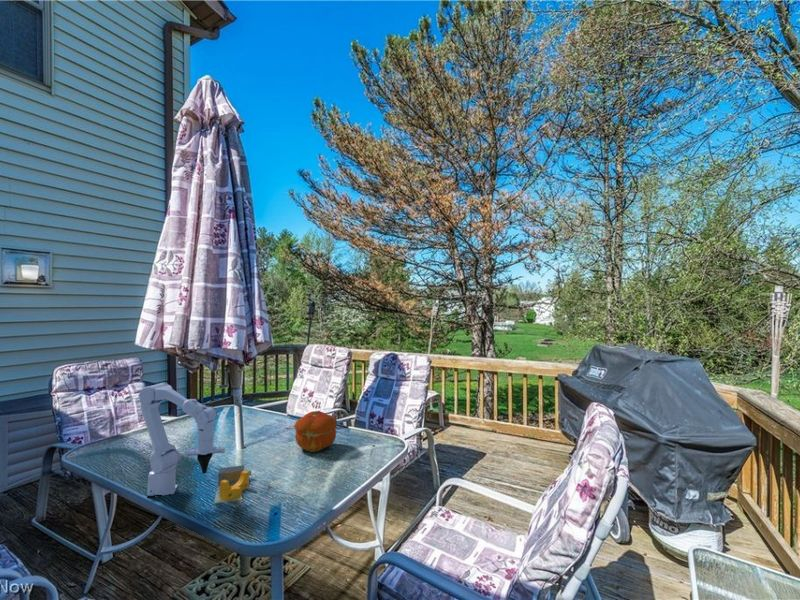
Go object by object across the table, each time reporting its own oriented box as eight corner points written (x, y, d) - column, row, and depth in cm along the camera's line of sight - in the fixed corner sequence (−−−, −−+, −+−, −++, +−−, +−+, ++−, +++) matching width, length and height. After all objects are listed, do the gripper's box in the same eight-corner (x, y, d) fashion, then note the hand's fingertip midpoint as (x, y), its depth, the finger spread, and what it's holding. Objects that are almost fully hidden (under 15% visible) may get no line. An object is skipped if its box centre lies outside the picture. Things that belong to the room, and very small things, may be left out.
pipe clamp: (226, 500, 150) (227, 484, 150) (219, 497, 152) (220, 481, 152) (251, 488, 161) (252, 472, 161) (244, 485, 163) (244, 470, 163)
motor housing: (213, 503, 148) (214, 490, 148) (219, 479, 168) (219, 468, 168) (249, 498, 152) (250, 486, 152) (251, 475, 173) (251, 464, 173)
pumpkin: (286, 447, 208) (287, 410, 209) (322, 438, 223) (323, 404, 224) (306, 460, 191) (307, 420, 191) (344, 449, 206) (345, 412, 206)
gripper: (183, 443, 148) (182, 478, 148) (224, 440, 153) (223, 474, 153) (186, 437, 155) (185, 471, 154) (226, 434, 160) (225, 467, 159)
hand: (204, 472), depth 154 cm, fingers closed
